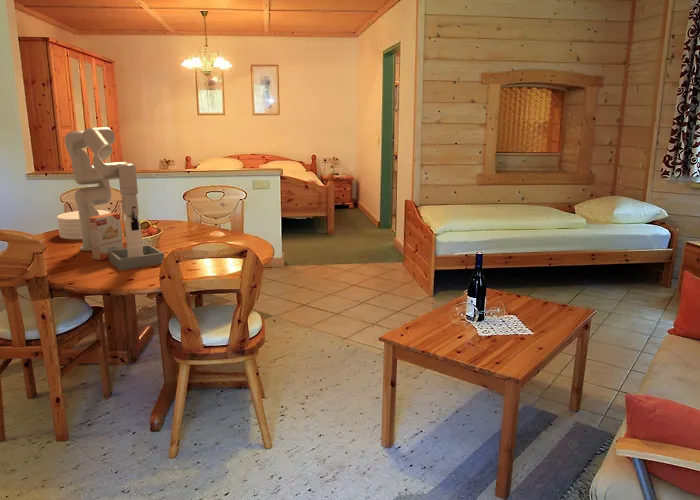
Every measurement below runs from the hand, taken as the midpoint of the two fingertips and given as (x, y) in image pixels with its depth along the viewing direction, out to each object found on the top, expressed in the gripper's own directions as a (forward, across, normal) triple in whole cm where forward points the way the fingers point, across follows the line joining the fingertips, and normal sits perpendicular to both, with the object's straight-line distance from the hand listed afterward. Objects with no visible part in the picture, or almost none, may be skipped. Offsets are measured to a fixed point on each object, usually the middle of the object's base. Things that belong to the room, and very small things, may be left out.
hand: (132, 228), depth 267 cm
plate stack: (+17, -80, -5) cm, 82 cm away
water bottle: (+15, 0, 0) cm, 15 cm away
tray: (+16, 0, 0) cm, 16 cm away
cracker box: (+17, -18, -8) cm, 26 cm away
